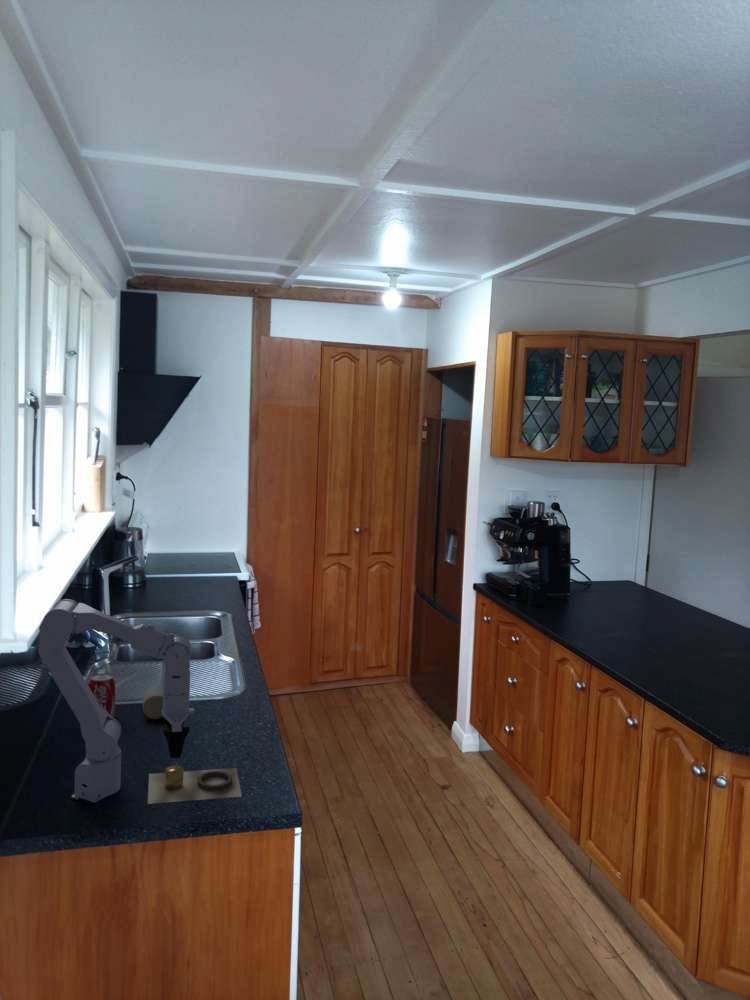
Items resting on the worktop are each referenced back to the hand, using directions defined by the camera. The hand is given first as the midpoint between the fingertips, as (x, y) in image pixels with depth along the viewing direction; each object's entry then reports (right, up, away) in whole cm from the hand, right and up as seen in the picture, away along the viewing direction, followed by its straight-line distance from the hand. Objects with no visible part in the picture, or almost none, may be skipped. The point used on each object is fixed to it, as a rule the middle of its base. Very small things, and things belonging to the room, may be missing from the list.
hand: (174, 749), depth 173 cm
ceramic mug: (-15, -4, +43) cm, 46 cm away
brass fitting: (0, -8, +1) cm, 8 cm away
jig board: (+4, -10, +2) cm, 10 cm away
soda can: (-30, -4, +38) cm, 48 cm away
